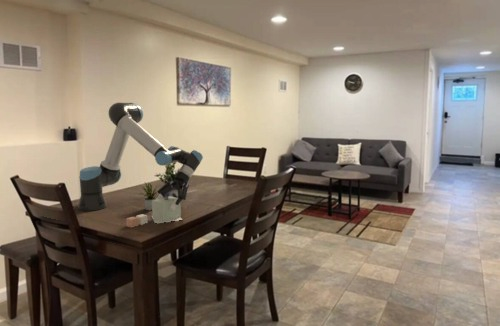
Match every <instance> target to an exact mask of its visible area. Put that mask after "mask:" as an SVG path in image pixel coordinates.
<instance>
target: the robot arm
mask: <svg viewBox="0 0 500 326" xmlns="http://www.w3.org/2000/svg"><path fill="white" fill-rule="evenodd" d="M143 117H144V112H143V110H142V107H141V106H140V105H139V104H137V103H133V102H116V103H115V102H114V103H113V104H112V105H111V106H110V107H109V109H108V118H109V120H110V121H111V123H112V124H114V125H115V129H114V132H113V135H112V138H111V140H110V144H109V146H108V149H107V152H106V156H105V157H104V158H105V159H104V160H102V161H101V162H100V165H99V166H97V165H96V166H95V165H94V166H87V167H84V168H82V169H81V170H80V171H79V177H78V178H79V188H80V189H79V190H80V197H79V201H78V204H77V208H78V209H77V210H79V211H84V212H85V211H86V212H87V211H88V212H89V211H99V210H102V209H105V208H107V201H106V199H105V197H104V194H103V188H105V187H108V186H112V185H115V184H116V183H118V182H119V181H120V179H121V178H122V170H121V166H120V162H121V160H122V158H123V154H124V151H125V150H126V149H125V148H126V146H127V142H128V141H129V138H130V137H131V138H132V139H133V140H135V141H136V142H137V143H138V144H139V145H140V146H141V147H142V148H144V149H145V150H146V151H147V152H149V153H150V154H151V155H152V156H154V158H155V163H156V164H157V165H159V166H169V165H171V164H174V163H178V164H180V165H181V167H180V168H179V169H178V172H176V175H174V180H173V179H169V180H168V181H167V183H165V184H164V185H163V186H162V187H160V188H159V189H158V191H156V192H157V195H156V196H155V198H156V199H160V198H163V195H165V194H166V193H168V192H169V191H171V190H174V189H175V190H178V198H176V199H175V201H174V202H173V204H172V205H171V207H170V209H171V210H173V211H174V210H175V208H176V207H177V205H179V203H180V201H185V200H186V198H187V194H188V189H189V186H190V185H189V181H190V179H191V178H192V176H193V175H194V173H195V171H197V168H198V167H199V165H200V164H201V162H202V160H203V158H204V157H203V155H202V153H201V152H200V151H199V150H196V149H195V150H191V151H185V150H184V149H181V148H179V147H178V146H173V145H172V146H169V147H168V148H167V147H165V145H163V144H162V143H161V142H159V140H157V139H156V138H155V137H153V135H152V134H150V132H148V131H147V130H146V129H144V128H143V127H142V126H141V125H140V124H138V123H140V122H141V121H143Z"/></svg>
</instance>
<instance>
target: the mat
mask: <svg viewBox="0 0 500 326" xmlns="http://www.w3.org/2000/svg"><path fill="white" fill-rule="evenodd" d="M151 218H152V220H153V222H154V224H155V223H157V224H164V222H161V221H158V220H154V219H153V217H152V216H151ZM179 220H183V218H182V216H181V217H179V218H175V219H172V220H169V221H165V222H166V223H172V222H171V221H175V222H180V221H179Z"/></svg>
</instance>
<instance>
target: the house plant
mask: <svg viewBox="0 0 500 326" xmlns="http://www.w3.org/2000/svg"><path fill="white" fill-rule="evenodd" d="M144 185H145V187H146V188H145V187H143V186H141V184H140V185H139V188H141V189H143V190H144V193H143V192H140V191H139V194H138V196H139V195H143V197H144V198H143V202H144V206H145V207H144V208H145V210H146V211H152V200H156V197H157V196H158V192H157V191H158V190H159V189H158V190H157V188H158V187H159V186H158V184H157V185H156V187H155V188H154V189H153V185H152V183H150V182H148V183H147V182H145V181H144Z"/></svg>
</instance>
